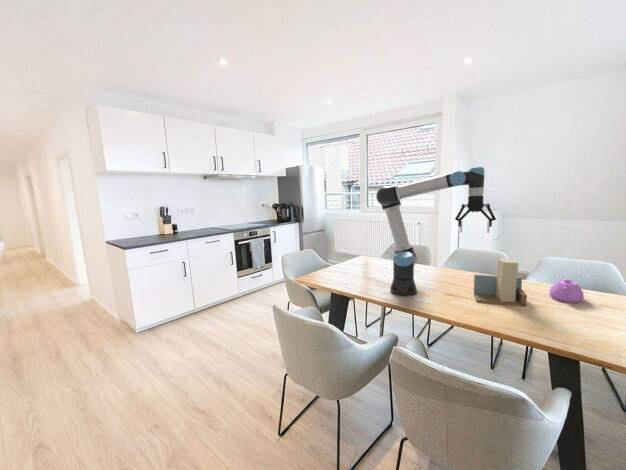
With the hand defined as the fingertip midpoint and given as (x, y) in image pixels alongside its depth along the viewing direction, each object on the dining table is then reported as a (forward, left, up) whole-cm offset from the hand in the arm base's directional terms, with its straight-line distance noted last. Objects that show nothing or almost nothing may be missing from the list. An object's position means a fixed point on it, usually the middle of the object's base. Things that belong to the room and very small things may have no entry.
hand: (474, 232), depth 167 cm
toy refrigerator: (+14, -14, -34) cm, 39 cm away
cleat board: (+11, -13, -35) cm, 39 cm away
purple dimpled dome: (+44, -1, -35) cm, 56 cm away
